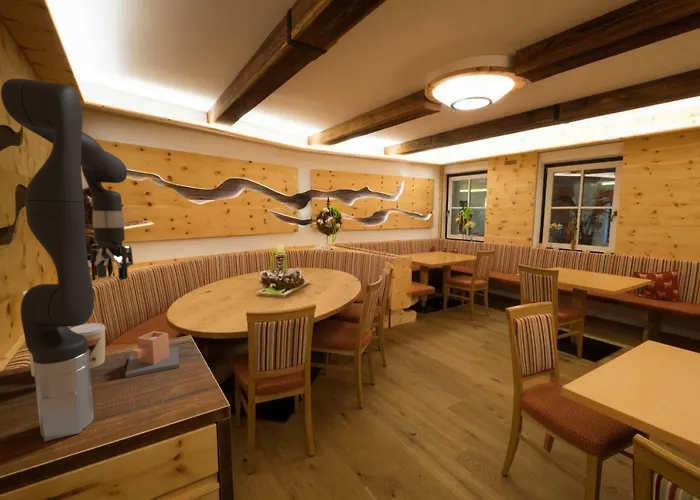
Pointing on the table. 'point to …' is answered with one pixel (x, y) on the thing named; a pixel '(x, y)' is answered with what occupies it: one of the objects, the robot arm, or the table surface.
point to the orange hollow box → (152, 348)
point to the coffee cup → (93, 341)
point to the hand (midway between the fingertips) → (112, 278)
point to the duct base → (145, 368)
